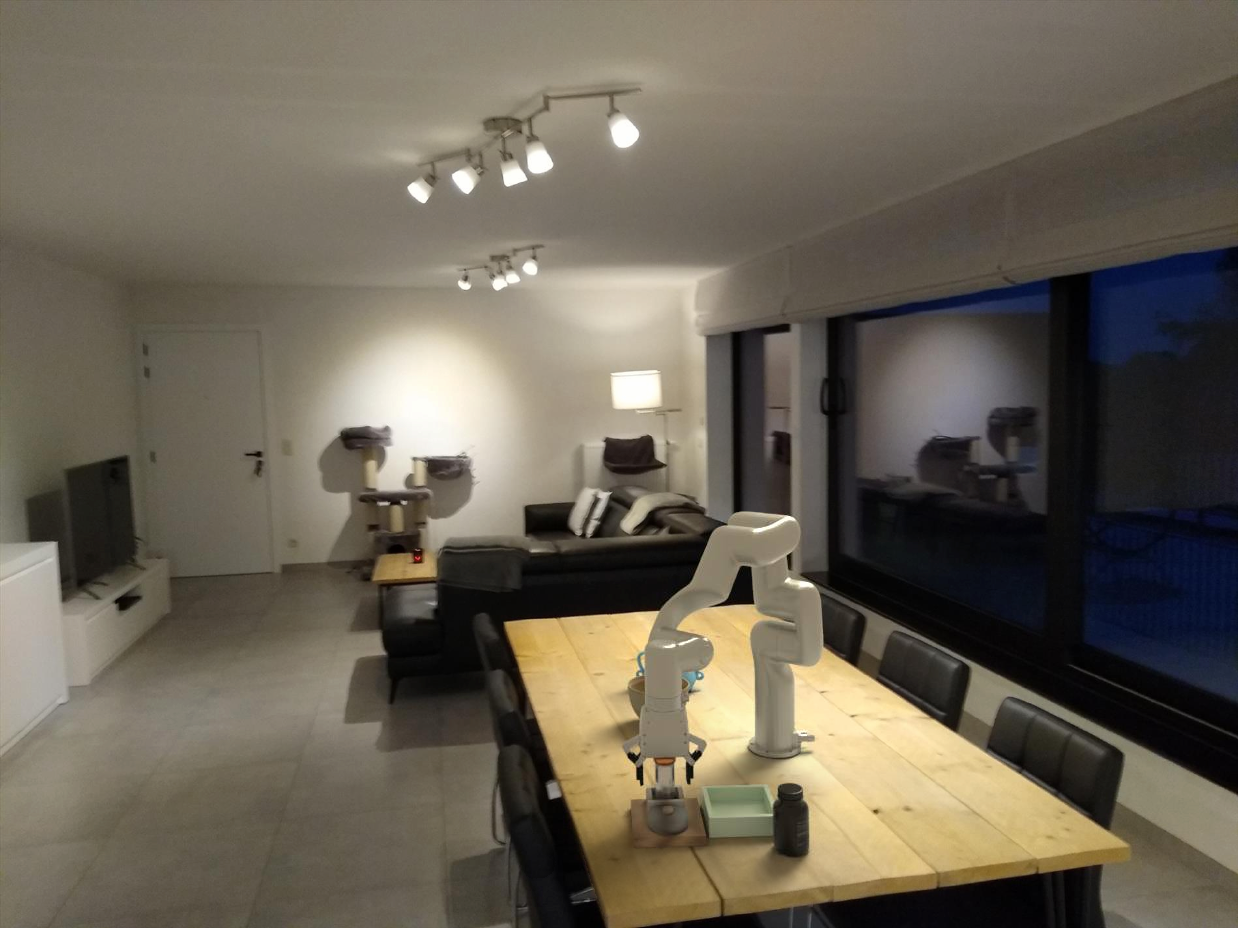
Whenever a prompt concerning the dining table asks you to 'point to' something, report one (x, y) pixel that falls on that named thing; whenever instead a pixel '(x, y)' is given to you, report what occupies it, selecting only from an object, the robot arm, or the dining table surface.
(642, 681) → the planter bowl
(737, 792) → the tray
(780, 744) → the robot arm
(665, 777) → the jar with copper lid
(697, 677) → the decorative pot
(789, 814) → the supplement bottle
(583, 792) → the dining table surface
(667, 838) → the wooden stand
